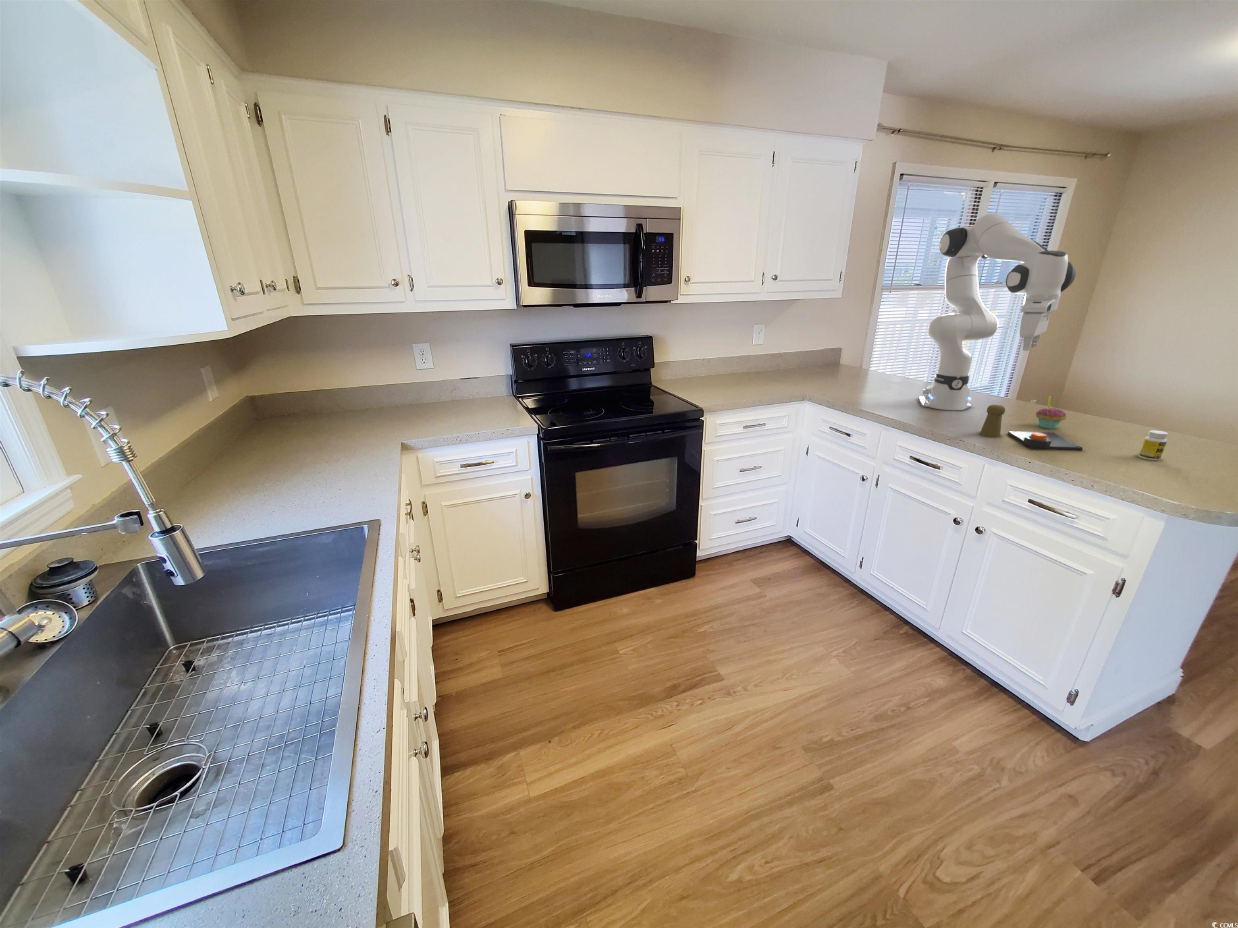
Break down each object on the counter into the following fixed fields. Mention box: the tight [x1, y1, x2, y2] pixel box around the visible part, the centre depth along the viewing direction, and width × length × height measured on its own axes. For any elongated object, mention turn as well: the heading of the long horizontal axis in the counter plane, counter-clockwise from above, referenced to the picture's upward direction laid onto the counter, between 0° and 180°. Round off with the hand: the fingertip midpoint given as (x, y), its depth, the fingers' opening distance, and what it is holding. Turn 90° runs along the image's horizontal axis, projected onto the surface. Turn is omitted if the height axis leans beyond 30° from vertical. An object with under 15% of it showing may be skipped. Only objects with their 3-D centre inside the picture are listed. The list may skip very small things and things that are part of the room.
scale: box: [1007, 431, 1083, 452], centre depth 168 cm, size 16×15×3 cm
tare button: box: [1030, 431, 1047, 440], centre depth 163 cm, size 4×4×2 cm
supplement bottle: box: [1138, 429, 1169, 461], centre depth 150 cm, size 5×5×8 cm
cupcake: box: [1035, 394, 1067, 429], centre depth 181 cm, size 9×8×12 cm
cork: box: [979, 404, 1006, 438], centre depth 175 cm, size 6×6×11 cm
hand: (1029, 348), depth 163 cm, fingers open, 8 cm apart
